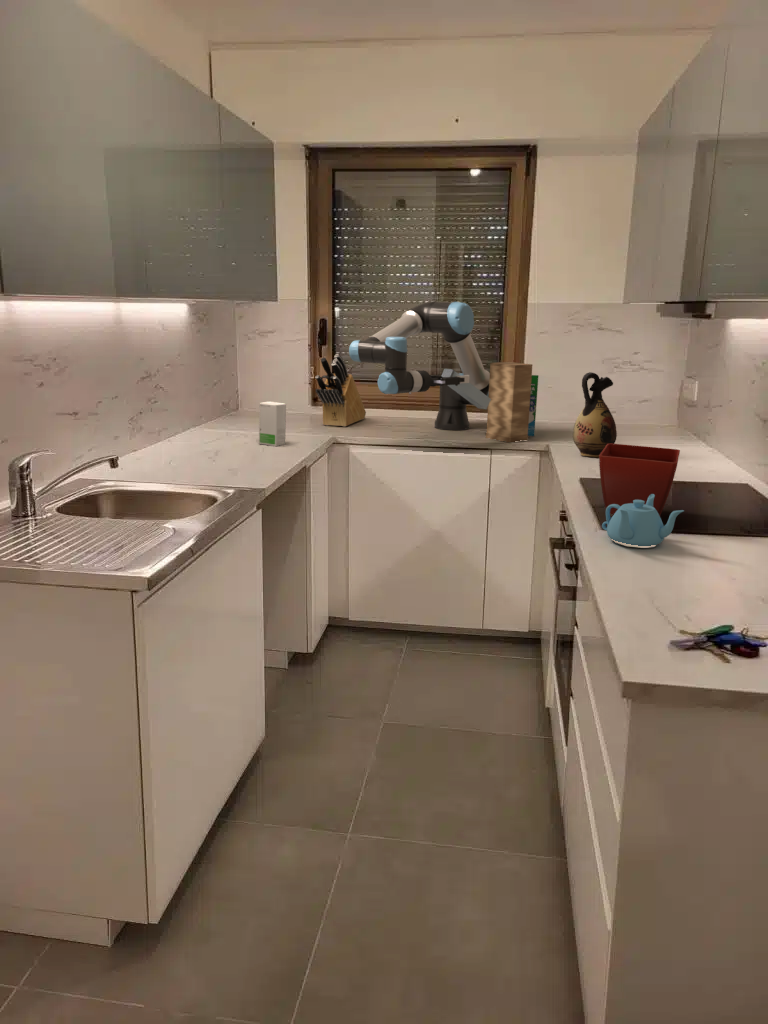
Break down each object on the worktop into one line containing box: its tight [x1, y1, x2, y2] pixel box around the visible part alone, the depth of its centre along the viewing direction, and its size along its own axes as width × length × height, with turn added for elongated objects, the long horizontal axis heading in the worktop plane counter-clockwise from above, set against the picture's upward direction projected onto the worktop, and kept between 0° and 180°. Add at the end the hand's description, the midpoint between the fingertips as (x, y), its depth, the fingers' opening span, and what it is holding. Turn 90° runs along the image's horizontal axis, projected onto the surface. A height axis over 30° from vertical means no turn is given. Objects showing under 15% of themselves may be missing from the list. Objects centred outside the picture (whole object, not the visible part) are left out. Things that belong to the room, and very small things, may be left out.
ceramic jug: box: [572, 371, 618, 458], centre depth 289 cm, size 17×15×30 cm
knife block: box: [314, 353, 367, 428], centre depth 347 cm, size 11×35×31 cm, turn 162°
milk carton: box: [528, 374, 539, 437], centre depth 332 cm, size 9×9×25 cm
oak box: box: [485, 361, 533, 443], centre depth 318 cm, size 13×10×30 cm
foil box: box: [440, 368, 491, 411], centre depth 302 cm, size 5×24×5 cm, turn 129°
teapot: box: [601, 494, 685, 546], centre depth 188 cm, size 15×15×10 cm
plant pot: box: [598, 443, 681, 517], centre depth 212 cm, size 19×19×17 cm
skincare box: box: [258, 400, 287, 447], centre depth 300 cm, size 8×7×16 cm
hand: (463, 378), depth 300 cm, fingers closed on foil box, 4 cm apart
